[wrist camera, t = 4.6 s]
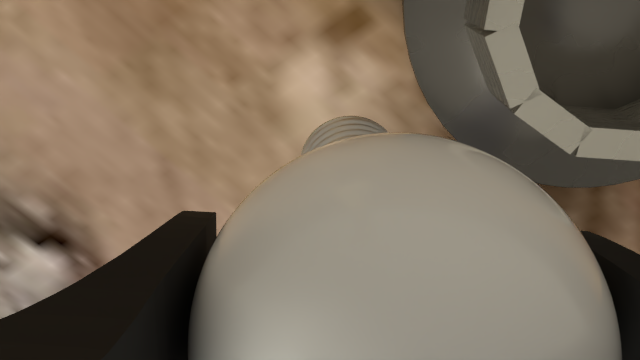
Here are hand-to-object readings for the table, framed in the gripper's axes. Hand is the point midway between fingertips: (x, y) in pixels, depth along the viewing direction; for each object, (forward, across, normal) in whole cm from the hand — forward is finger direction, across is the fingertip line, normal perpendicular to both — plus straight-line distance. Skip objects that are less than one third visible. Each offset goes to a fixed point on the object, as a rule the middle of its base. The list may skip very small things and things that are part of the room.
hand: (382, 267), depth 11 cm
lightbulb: (+6, 0, 0) cm, 6 cm away
